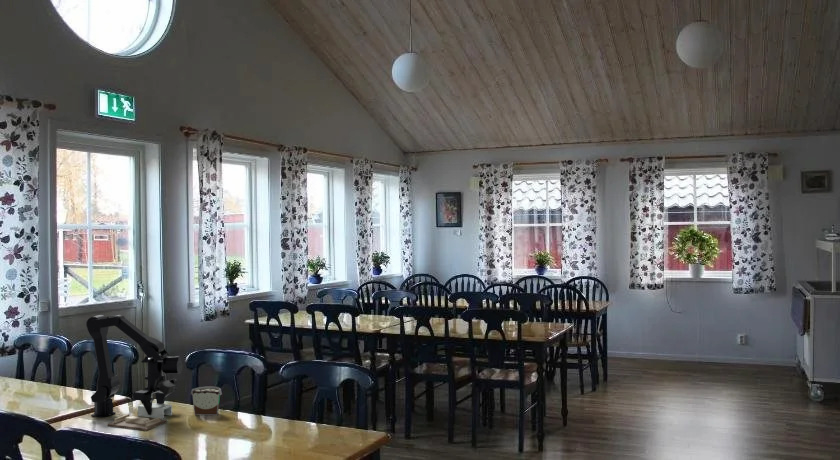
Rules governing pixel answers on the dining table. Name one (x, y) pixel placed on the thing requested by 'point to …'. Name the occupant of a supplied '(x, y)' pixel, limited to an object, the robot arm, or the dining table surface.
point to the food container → (206, 400)
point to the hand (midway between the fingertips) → (155, 412)
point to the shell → (155, 410)
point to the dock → (135, 426)
